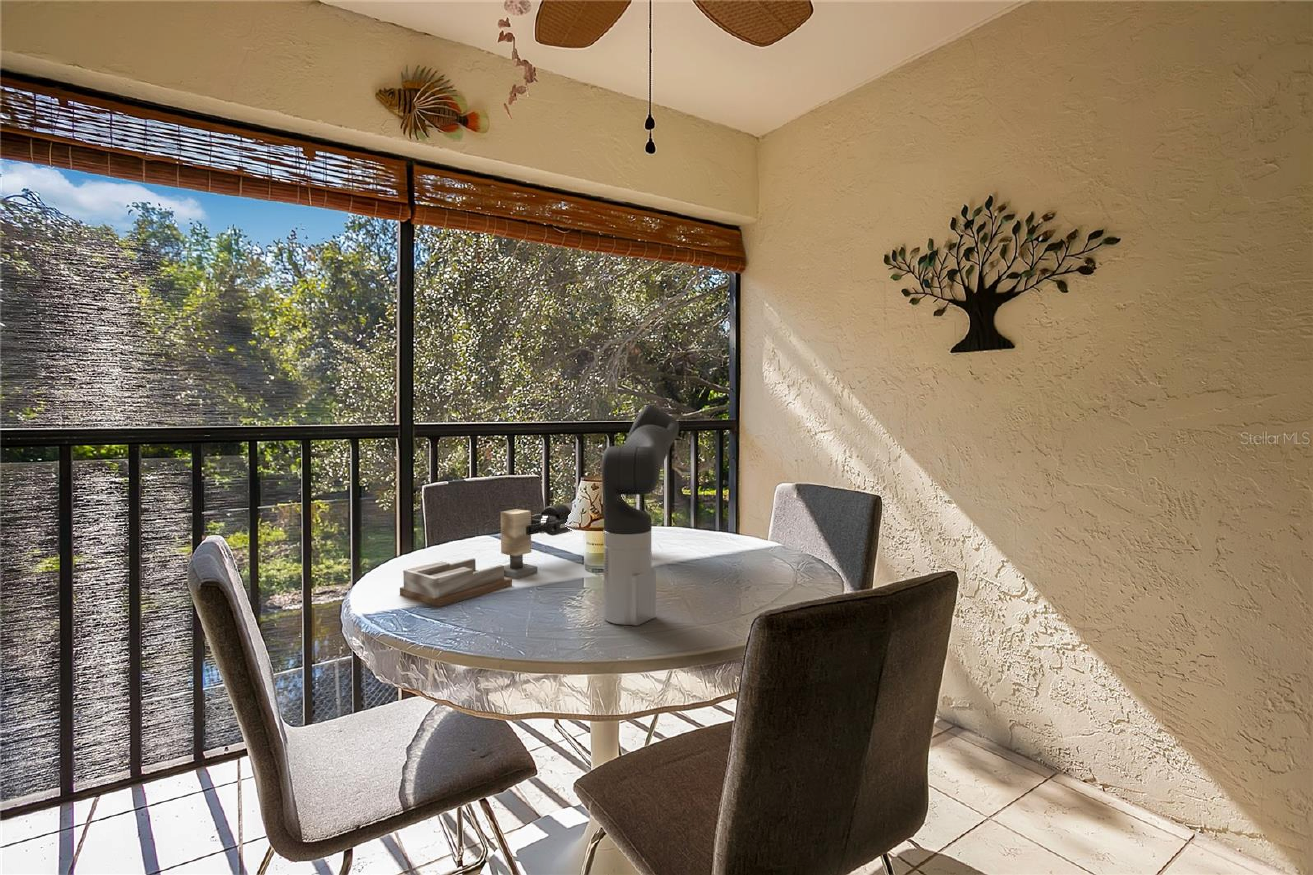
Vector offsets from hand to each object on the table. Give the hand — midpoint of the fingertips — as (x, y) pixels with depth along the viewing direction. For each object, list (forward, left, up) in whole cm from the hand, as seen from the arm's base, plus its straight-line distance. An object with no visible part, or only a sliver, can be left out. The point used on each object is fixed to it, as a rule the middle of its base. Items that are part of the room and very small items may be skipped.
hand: (514, 528), depth 159 cm
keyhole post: (0, 0, -11) cm, 11 cm away
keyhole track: (0, +17, -11) cm, 20 cm away
